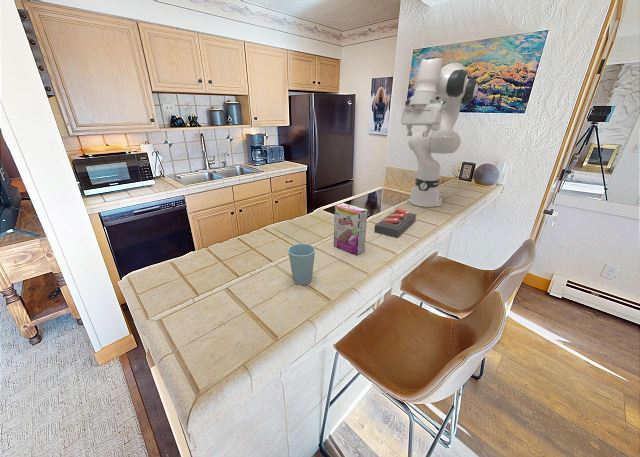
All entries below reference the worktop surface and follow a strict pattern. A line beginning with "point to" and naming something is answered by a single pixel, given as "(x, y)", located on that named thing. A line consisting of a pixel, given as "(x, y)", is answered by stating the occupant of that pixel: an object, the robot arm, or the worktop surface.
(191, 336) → the worktop surface
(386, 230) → the rocker switch panel
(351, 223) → the candy bar box
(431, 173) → the robot arm
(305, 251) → the cup
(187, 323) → the worktop surface
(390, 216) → the rocker
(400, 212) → the rocker
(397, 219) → the rocker
